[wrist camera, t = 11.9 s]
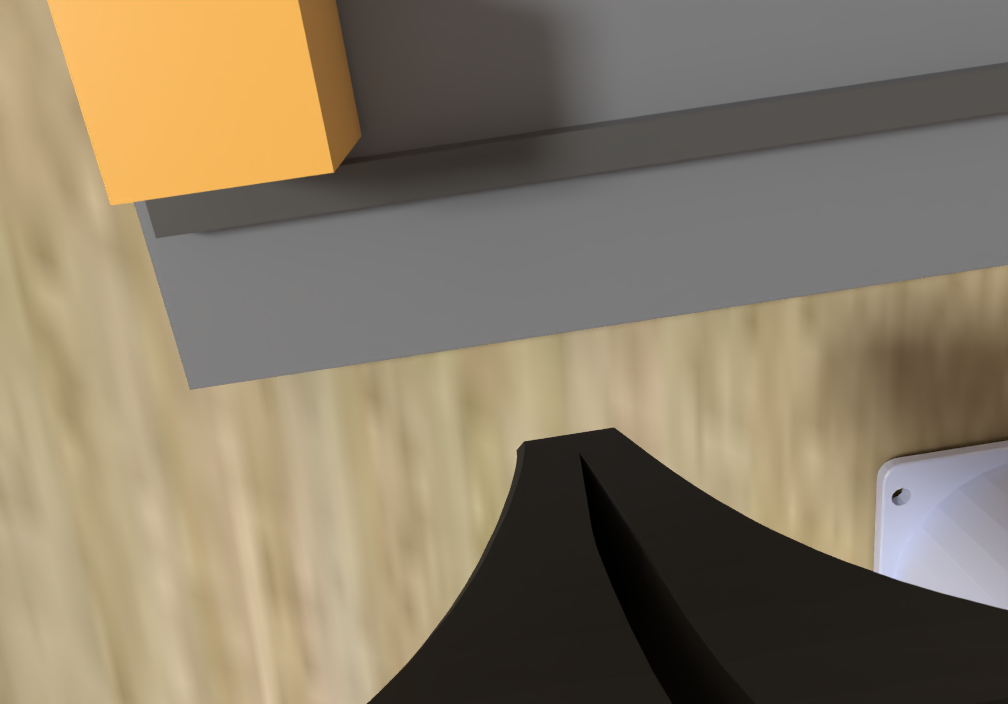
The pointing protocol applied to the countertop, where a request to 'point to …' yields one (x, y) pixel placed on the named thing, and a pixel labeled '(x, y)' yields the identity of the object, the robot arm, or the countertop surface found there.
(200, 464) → the countertop surface
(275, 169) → the knob
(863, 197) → the switch panel
